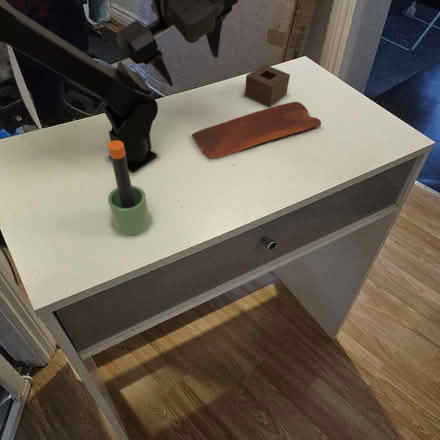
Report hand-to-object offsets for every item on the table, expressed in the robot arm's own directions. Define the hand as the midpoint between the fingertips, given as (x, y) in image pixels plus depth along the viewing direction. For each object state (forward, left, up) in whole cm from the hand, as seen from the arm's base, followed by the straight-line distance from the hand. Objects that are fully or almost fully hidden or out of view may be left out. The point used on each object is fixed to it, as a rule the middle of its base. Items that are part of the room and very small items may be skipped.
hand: (193, 70), depth 66 cm
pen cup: (-23, -7, -14) cm, 28 cm away
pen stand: (+24, -1, -14) cm, 27 cm away
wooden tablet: (+11, -7, -14) cm, 19 cm away
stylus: (-23, -7, -13) cm, 27 cm away
